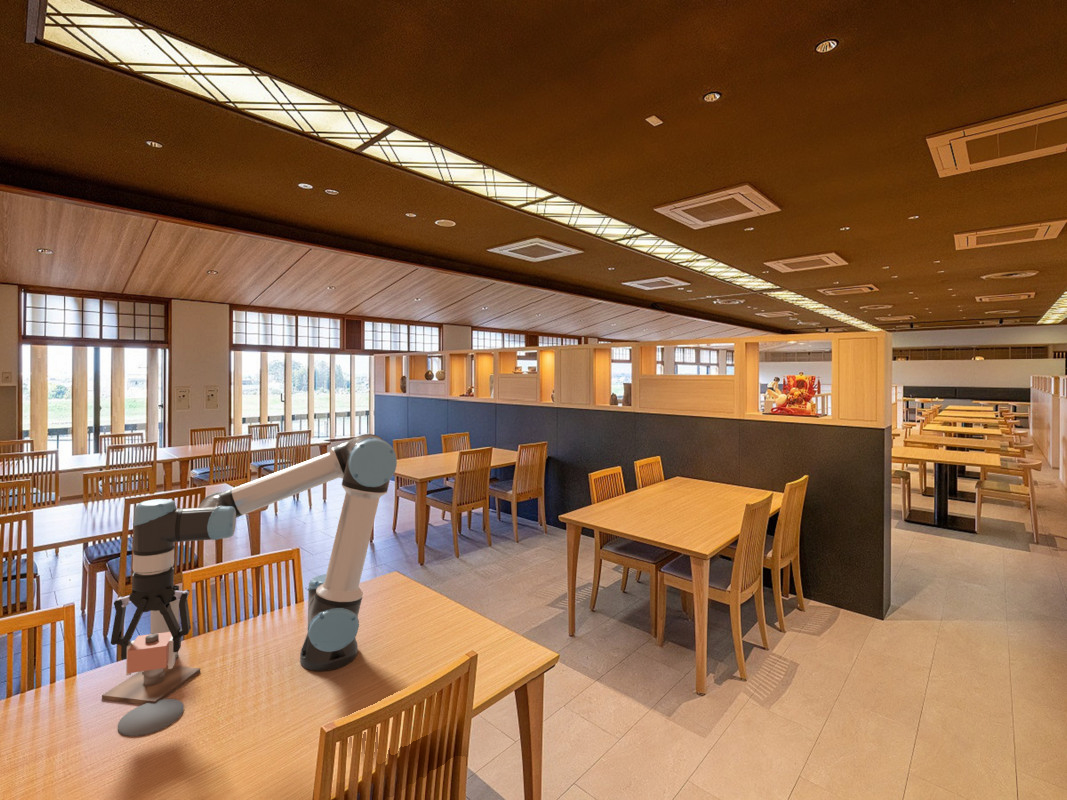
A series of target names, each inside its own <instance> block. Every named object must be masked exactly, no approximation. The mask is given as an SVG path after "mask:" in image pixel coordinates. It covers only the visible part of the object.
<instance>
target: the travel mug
mask: <svg viewBox="0 0 1067 800" xmlns="http://www.w3.org/2000/svg"><path fill="white" fill-rule="evenodd" d="M174 587H175V589H176V590H178V591H180V586H179V585H176V584H175V585H174ZM169 602H170V605H171V609H172V611H173V613H174V615H175V618H176V620H177V622H178V624H179V625H180V623H179V617H180V611H179V601H177V599H176V597H175V596H173V597H172V599H171V600H170V601H169ZM165 632H170V630H169V628H168V626H167V624H166V622H165V620H164V618H163V615H162V614H161V613H160V611H150V634H157V633H165ZM178 656H179V651H178V652H175V660H176V659H177V658H178Z"/></svg>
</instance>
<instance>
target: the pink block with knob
mask: <svg viewBox="0 0 1067 800" xmlns="http://www.w3.org/2000/svg"><path fill="white" fill-rule="evenodd" d="M171 636H172V635H171V633H170V632H165V633H157V634H142V635H137V636H136V638H135V639H134V640H135V641H134V643H133V644H132V646H131V647H130V648H129V650H128V659H126V662H127V674H128V673H131V674H133V673H134V674H135V673H138V672H141V671H148V670H154V669H161V668H166V666H167V665H168V659H169V640H170V638H171Z"/></svg>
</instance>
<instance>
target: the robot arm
mask: <svg viewBox="0 0 1067 800" xmlns="http://www.w3.org/2000/svg"><path fill="white" fill-rule="evenodd" d="M397 465H398V459H397V455H396V451H395V450H394V448H393V447H392V445H391V444H390V443H389V442H387V441H386V440H385V439H383V438H381V437H380V436H378V435H376V434H372V433H366V434H360V435H358V436H355V437H353V438H351V439H348V440H347V441H345V442H342V443H340V444H337V445H335V446H332V447H331V448H330V450H329V451H328V452H327V453H324V454H321V455H318V456H315V457H313V458H311V459H307V460H306V461H302V462H300V463H296V464H295V465H291V466H289V467H287V468H284V469H281V470H278V471H275V472H273V473H269V474H268V475H265V476H262V477H260V478H256V479H254V480H252V481H248V482H246V483H243V484H241V485H238V486H236V487H233V488H230V489H227V490H225V491H223V492H222V491H221V492H219V491H218V492H214V493H212V494H209V495H207V496H206V497H205V498H204V499H202V501H201V502H200V504H199V506H198V507H189V508H188V507H187V508H179V507H178V508H177V506H176V501H175V500H173V499H170V498H168V499H167V498H166V499H165V498H158V499H150V500H144V501H141V502H140V503H138V504H137V505H136V506H135V508H134V515H133V516H134V517H133V523H132V527H133V528H132V530H133V531H132V532H133V533H132V534H133V538H132V539H133V543H132V544H133V549H132V571H133V573H132V575H131V578H132V580H131V583H132V586H131V593H130V594H129V595H126V596H123V595H121V596H119V597H118V598H116V599H115V601H114V602H113V606H114V610H115V613H114V614H115V615H114V621H113V626H112V632H111V638H110V645H112V646H115V645H119V646H120V648H121V650H120V658H121V660H122V661H123V660H124V661H125V660H127V659H128V650H129V648H130V647H131V646H132V644H133V643H134V641H135V640H136V639H134V640H131V639H132V638H133V635H134V633H135V631H136V630H137V626H138V625H139V622H140V621H141V618H142V616H143V614H144V613H148V612H151V611H160V613H161V614H162V615H163V618H164V620H165V622H166V624H167V626H168V628H169V630H170V633H171V635H172V636H171V638H170V640H169V659H168V664H167V665H168V669H172V668H173V666H175V663H176V659H175V652H178V653H179V651H180V649H181V647H182V637H184V636H187V635H188V634H189V633H190V631H191V628H192V627H191V617H190V609H189V602H188V599H189V596H190V589H187V588H186V589H184V590H179V591H178V590H176V589H175V587H174V584H175V582H174V577H175V575H174V574H175V572H174V571H175V568H174V567H173V566H174V565H175V543H181V542H195V541H196V542H197V541H211V540H213V541H218V540H222V539H227V538H228V539H230V538H231V537H233V536H234V534H235V530H236V526H237V525H236V523H237V518H239V517H241V516H244V515H246V514H249V513H252V512H254V511H256V510H259V509H263V508H265V507H267V506H270V505H272V504H274V503H277V502H279V501H282V500H284V499H287V498H289V497H292V496H294V495H295V496H296V495H297V494H300V493H303V492H305V491H308V490H311V489H313V488H315V487H318V486H321V485H323V484H326V483H328V482H331V481H334V480H336V479H338V478H339V479H342V482H341V487H342V488H343V490H344V491H345V495H344V499H343V502H342V507H341V512H340V514H339V515H340V516H339V519H338V523H337V524H338V525H337V527H336V528H337V529H336V532H335V536H334V541H333V545H332V549H331V554H330V558H329V562H328V566H327V569H326V570H327V571H326V573H324V574H321V575H317V576H315V577H313V578H311V579H310V580H309V582H308V588H307V591H308V597H307V598H308V599H307V604H308V605H307V631H306V632H307V633H306V635H305V638H304V641H303V644H302V647H301V648H300V649H301V650H300V654H299V655H300V656H299V663H300V665H301V666H302V667H303V668H305V669H306V670H309V671H316V672H323V671H325V672H326V671H331V670H336V669H338V668H339V669H340V668H341V667H344V666H346V665H348V664H349V663H351V662H352V661H354V659H356V657H357V656H358V648H359V647H358V642H357V638H356V636H357V635H358V633H359V627H360V620H359V612H360V608H361V605H362V599H363V597H364V592H363V591H362V589H361V588H360V582H361V578H362V574H363V569H364V565H365V561H366V558H367V557H366V556H367V552H368V548H369V545H370V540H371V537H372V531H373V528H374V523H375V519H376V515H377V511H378V510H377V509H378V506H379V503H380V498H381V497H382V496H384V495H385V494H387V493H388V491H389V490H388V489H389V485H390V480H391V479H392V478H393V476H394V475H395V472H396V470H397ZM173 596H175V597H176V599H177V601H179V617H180V623H179V624H178V622H177V620H176V618H175V615H174V613H173V611H172V609H171V605H170V602H169V601H170V600H171V599H172V597H173ZM129 602H131V603H132V604H133V605H134V606H135V607H136V609H135V611H134V614H133V617H132V618H131V621H130V623H129V625H128V627H127V629H126V632H125V634H124V635H122V634H123V630H124V622H125V616H126V609H127V606H128V605H129ZM180 624H181V627H180ZM125 666H126V668H125V669H126V670H125V676H131V674H132V673H128V674H127V661H126V665H125Z"/></svg>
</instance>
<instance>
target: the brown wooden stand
mask: <svg viewBox="0 0 1067 800" xmlns="http://www.w3.org/2000/svg"><path fill="white" fill-rule="evenodd" d="M200 673H201V667H200V668H199V667H191V666H190V667H189V666H188V667H187V666H182V665H180V666H177V665H174V666H173V668H172V669H168V664H167V666H166V668H161V669H154V670H148V671H141V672H135V673H134V674H133V675H132V676H130V677H129V678H126V679H125V680H124V681H122V682H121V683H119V684H118V685H116V686H114V687H113V688H111V689H109V690H108V691H107V692H105V693H103V694H102V695H101V700H104V701H113V702H122V703H129V704H140V705H143V704H146V703H149V702H151V703H156V702H157V701H158V700H162V699H167V698H168V697H169V696H170V695H172V693H174V692H176V690H179V688H181V687H182V686H184V685H185V684H186V683H188V682H189V681H191V680H192V679H193V678H195V677H196V676H198V675H199V674H200Z"/></svg>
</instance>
